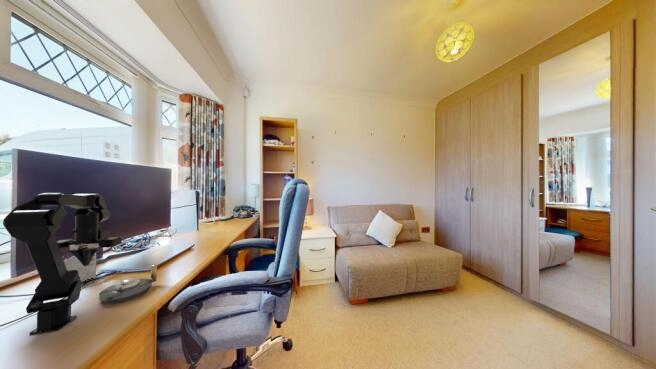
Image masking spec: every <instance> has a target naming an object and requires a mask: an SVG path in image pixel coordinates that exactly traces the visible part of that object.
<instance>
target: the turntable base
mask: <svg viewBox="0 0 656 369" xmlns="http://www.w3.org/2000/svg"><path fill="white" fill-rule="evenodd" d="M149 290H150V288H149V289H148V290H147V291H145V292H143V293H141V294H139V295H136V296H133V297H130V298H127V299H123V300H118V301H112V302H103V301H102V302H103V303H104V304H107V305H114V304H120V303H124V302H128V301H132V300H135V299H136V298H139V297H141V296H143V295H145V294H146V293H148V291H149Z"/></svg>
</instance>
